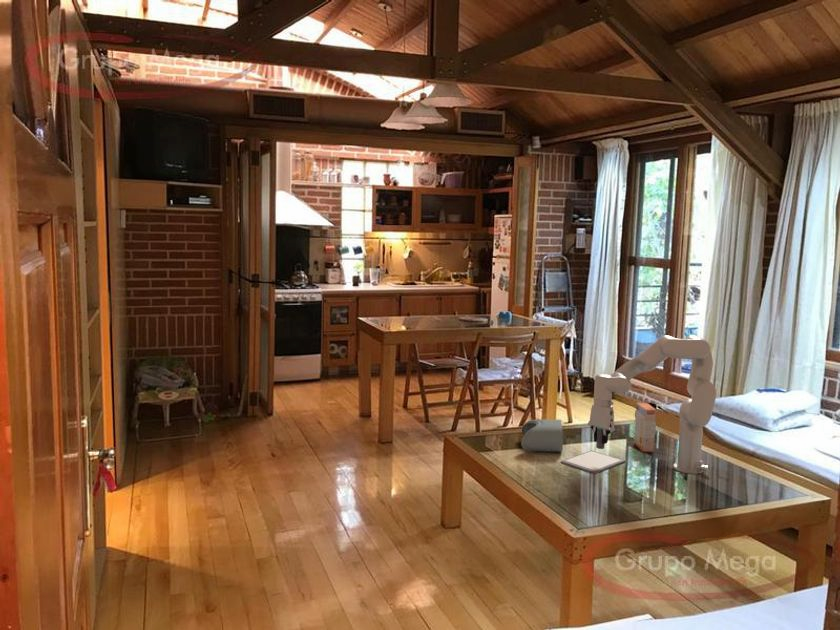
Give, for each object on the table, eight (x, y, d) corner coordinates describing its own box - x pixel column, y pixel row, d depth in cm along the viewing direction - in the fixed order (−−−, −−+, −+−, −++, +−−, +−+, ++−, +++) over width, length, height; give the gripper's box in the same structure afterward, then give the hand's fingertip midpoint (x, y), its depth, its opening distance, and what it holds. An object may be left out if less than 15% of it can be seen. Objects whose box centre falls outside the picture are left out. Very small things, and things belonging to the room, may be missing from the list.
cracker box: (654, 452, 329) (657, 409, 327) (641, 452, 330) (644, 409, 327) (645, 443, 343) (648, 402, 341) (633, 442, 343) (635, 401, 341)
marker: (606, 447, 309) (607, 421, 307) (601, 449, 306) (602, 423, 305) (599, 445, 312) (600, 419, 310) (594, 447, 309) (595, 421, 307)
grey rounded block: (562, 456, 321) (562, 429, 319) (521, 455, 324) (521, 428, 322) (560, 441, 342) (560, 416, 341) (522, 441, 345) (521, 416, 344)
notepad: (625, 462, 315) (625, 460, 315) (594, 473, 299) (594, 471, 299) (591, 452, 328) (591, 450, 328) (560, 462, 312) (560, 460, 312)
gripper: (623, 404, 303) (621, 445, 305) (591, 397, 315) (589, 436, 317) (613, 407, 298) (611, 448, 300) (581, 399, 310) (580, 439, 312)
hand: (600, 441), depth 309 cm, fingers closed on marker, 3 cm apart
